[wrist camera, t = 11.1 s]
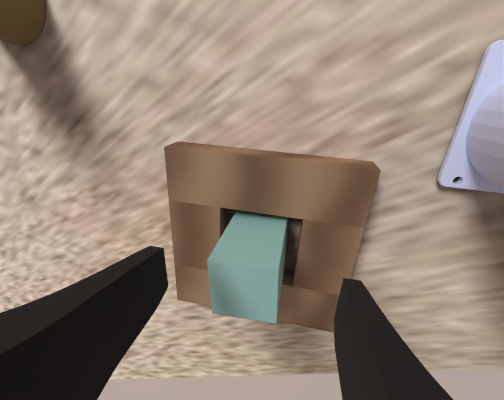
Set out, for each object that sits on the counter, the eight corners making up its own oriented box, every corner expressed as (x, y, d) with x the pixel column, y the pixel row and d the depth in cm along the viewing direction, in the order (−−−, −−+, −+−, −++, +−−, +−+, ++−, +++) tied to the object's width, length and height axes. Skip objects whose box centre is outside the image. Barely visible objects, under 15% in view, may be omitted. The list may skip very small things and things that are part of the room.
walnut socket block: (372, 161, 17) (380, 170, 15) (333, 313, 23) (335, 332, 21) (177, 141, 19) (164, 147, 17) (187, 284, 25) (177, 299, 23)
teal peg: (288, 211, 20) (278, 269, 13) (286, 254, 21) (276, 323, 15) (238, 207, 20) (207, 260, 14) (239, 249, 22) (212, 313, 16)
